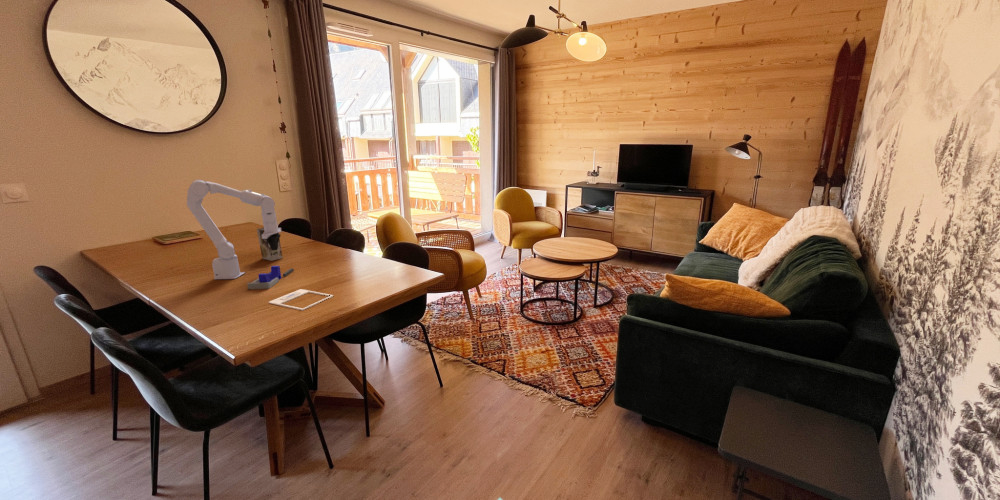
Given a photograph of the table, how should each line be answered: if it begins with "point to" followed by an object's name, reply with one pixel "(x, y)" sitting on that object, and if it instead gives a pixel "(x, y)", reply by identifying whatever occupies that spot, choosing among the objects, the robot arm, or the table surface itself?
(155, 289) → the table surface
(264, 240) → the coffee box
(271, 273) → the cable clip
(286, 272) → the guide channel
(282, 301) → the photo frame
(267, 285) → the bracket
